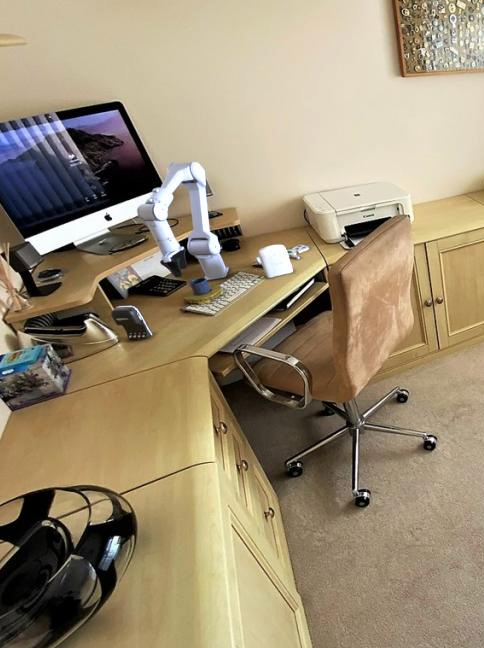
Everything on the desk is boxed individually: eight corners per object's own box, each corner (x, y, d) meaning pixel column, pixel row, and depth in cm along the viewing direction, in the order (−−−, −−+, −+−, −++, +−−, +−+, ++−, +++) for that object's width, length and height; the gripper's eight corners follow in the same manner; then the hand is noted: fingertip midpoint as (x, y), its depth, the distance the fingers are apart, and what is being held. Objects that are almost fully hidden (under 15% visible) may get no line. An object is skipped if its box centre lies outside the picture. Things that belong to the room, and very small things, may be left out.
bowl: (195, 289, 160) (190, 279, 158) (212, 286, 162) (207, 276, 159) (192, 296, 156) (187, 285, 154) (209, 293, 158) (204, 282, 155)
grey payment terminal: (125, 342, 136) (105, 311, 130) (133, 335, 139) (114, 305, 133) (147, 341, 136) (128, 310, 130) (154, 334, 140) (137, 304, 133)
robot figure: (272, 269, 178) (317, 251, 193) (270, 262, 176) (315, 244, 191) (251, 261, 186) (295, 244, 201) (248, 254, 184) (293, 237, 199)
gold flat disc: (204, 306, 154) (201, 301, 153) (179, 302, 157) (176, 297, 156) (230, 291, 163) (228, 286, 162) (206, 287, 166) (203, 282, 165)
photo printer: (292, 269, 178) (283, 241, 171) (294, 272, 175) (285, 244, 168) (265, 275, 174) (255, 247, 167) (267, 279, 171) (257, 251, 164)
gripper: (172, 243, 145) (189, 278, 152) (182, 229, 156) (197, 262, 164) (148, 246, 143) (166, 282, 150) (160, 232, 154) (176, 266, 162)
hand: (181, 272), depth 157 cm, fingers open, 7 cm apart
